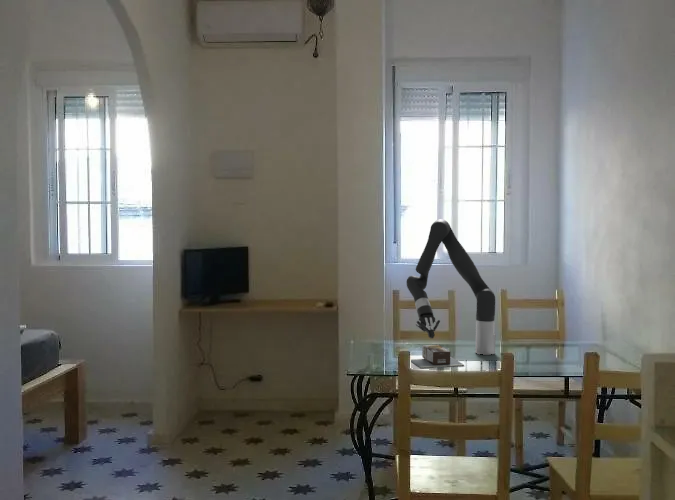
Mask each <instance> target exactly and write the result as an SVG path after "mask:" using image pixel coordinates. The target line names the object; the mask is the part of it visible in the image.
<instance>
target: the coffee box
mask: <svg viewBox="0 0 675 500" xmlns="http://www.w3.org/2000/svg"><path fill="white" fill-rule="evenodd" d="M421 352H422V353H421V356H422V359H425V360H427V361H428V362H429V363H431V364H432V365H445V364H450V357H451V351H450V350H449V349H446V348H445V347H444V346H442V345H440V344H428V345H427V344H425V345H424V344H423V345H422V350H421Z"/></svg>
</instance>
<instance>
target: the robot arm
mask: <svg viewBox="0 0 675 500" xmlns="http://www.w3.org/2000/svg"><path fill="white" fill-rule="evenodd" d="M428 234H429V235H428V239H427V242H426V244H425V247H424V249H423V251H422V253H421V255H420V257H419V260H418V262H417V264H416V267H415V271H416V272H417V273H418V274H420V276H417V275H409V276H408V277H407V278H406V287H407V289H408V291H409V293H410V294H411V296H412V297H413V300H414V304H415V310H416V313H417V317H418V320H417V321H416V323H415V326H416V327H417V328H419V329H420V330H421V331H422V332H424V333H425V332H426V333H427V336H428V338H429V339H434V337H435V332H436V330H437V329H438V327H439V325H440V322H441V320H440V319H436V317H435V316H434V312H433V310H432V309H433V308H432V304H431V303H430V301H429V298H428V293H427V292H426V291H425V289H426V288H427V284H428V278H429V273H430V271H431V268H432V266H433V264H434V261H435V258H436V254H437V252H438V249H439V246H440V245H441V243H442V244H443V245H444V247H445V249H446V252H447V254H448V257H449V259H450V261H451V263H452V265H453V267H454V268H455V270H456V271H457V273H458V275H460V276H461V277H462V279H463V280H464V281H465V282H466V283H467V285H468V286H469V287H470V289H471V291H472V292H473V294H474V297H475V299H476V311H475V312H476V314H475V349H474V350H475V354H476V353H477V355H480V354H483V356H491V354H492V355H495V354H496V334H495V317H496V295H495V293H494V291H493V290H492V289H491V288H490V287H489V286H488V285H487V283H486V282H485V281H484V280H483V278H482V276H481V275H480V273H479V271H478V269H477V267H476V264H475V263H474V261H473V260H472V257H471V256H470V255H469V254H468V252H467V251H466V250H465V248H464V246H463V245H462V243H460V241H459V240H458V238H457V237H456V235H455V233H454V231H453V229H452V228H451V225H450V223H449V222H448V221H447V220H445V219H443V218H439V219H436V220H435V221H434V222H433V223H432V224H431V225H430V231H429V233H428ZM434 324H435V325H434Z"/></svg>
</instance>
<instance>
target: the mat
mask: <svg viewBox="0 0 675 500" xmlns="http://www.w3.org/2000/svg"><path fill="white" fill-rule="evenodd" d="M410 359H411V358H410ZM411 364H413V365H415V366H417V367H418V368H419V369H421V370H422V369H435V368H437V369H438V368H454V367H455V366H457V367H465V364H463V363H462V362H460V361H458V359H455V358H453V357H451V356H450V364H445V365H432V364H431V363H429V362H428V361H427V360H425V359H424V358H416V359H414V358H413V359H411ZM455 368H456V367H455Z"/></svg>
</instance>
